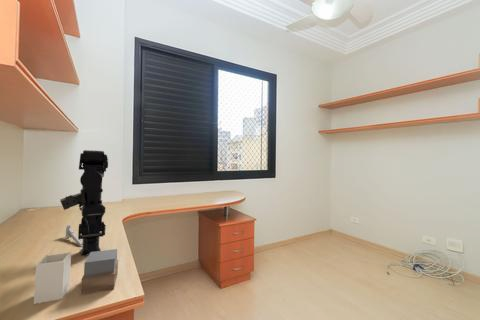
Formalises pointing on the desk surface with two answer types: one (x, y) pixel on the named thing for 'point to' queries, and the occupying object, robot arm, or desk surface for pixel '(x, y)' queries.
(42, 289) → the white open box
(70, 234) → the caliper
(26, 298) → the desk surface
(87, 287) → the walnut block
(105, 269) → the gray block
